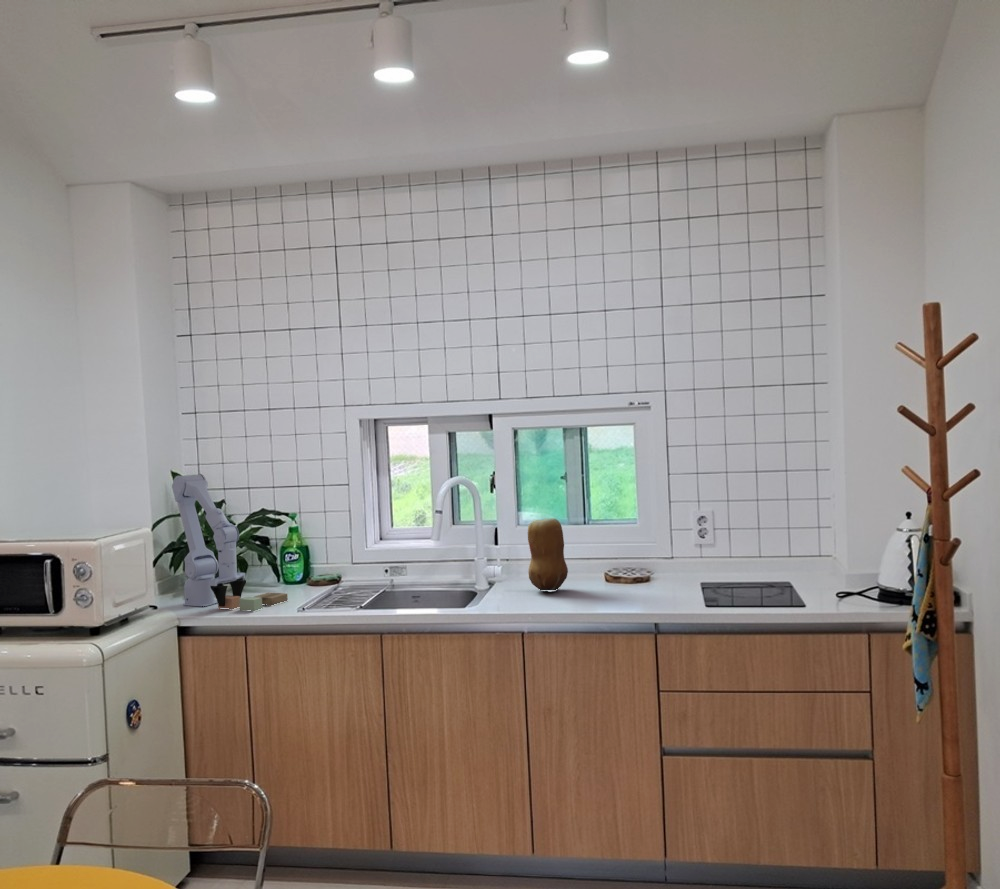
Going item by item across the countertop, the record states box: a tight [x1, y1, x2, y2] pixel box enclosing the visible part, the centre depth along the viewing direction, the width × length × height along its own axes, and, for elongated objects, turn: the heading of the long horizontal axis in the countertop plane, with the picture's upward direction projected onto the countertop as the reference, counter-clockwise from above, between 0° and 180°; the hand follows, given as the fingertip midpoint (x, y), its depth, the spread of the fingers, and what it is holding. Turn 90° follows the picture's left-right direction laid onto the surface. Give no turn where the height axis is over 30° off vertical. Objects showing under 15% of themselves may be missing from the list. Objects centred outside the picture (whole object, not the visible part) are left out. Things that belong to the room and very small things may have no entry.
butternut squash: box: [527, 518, 569, 591], centre depth 322 cm, size 14×13×25 cm
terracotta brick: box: [217, 594, 240, 609], centre depth 313 cm, size 6×4×4 cm, turn 63°
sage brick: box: [239, 596, 263, 611], centre depth 310 cm, size 6×4×4 cm, turn 64°
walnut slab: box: [254, 592, 288, 606], centre depth 321 cm, size 8×8×3 cm
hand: (229, 604), depth 314 cm, fingers open, 7 cm apart
